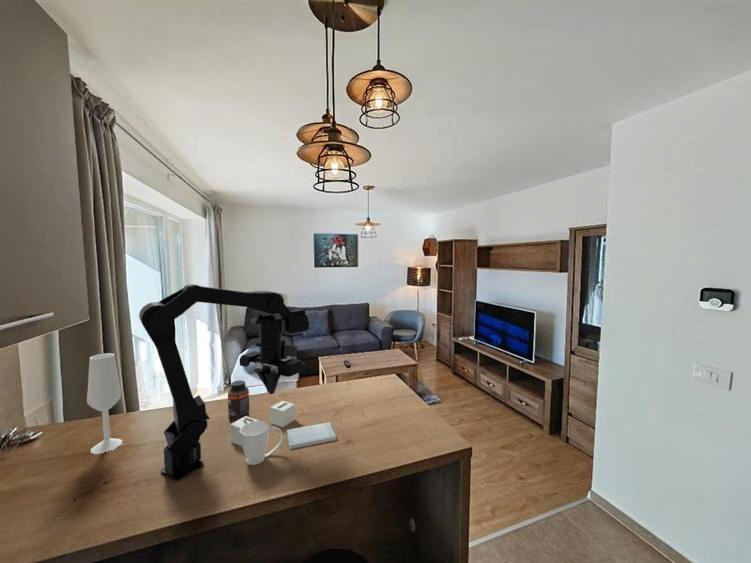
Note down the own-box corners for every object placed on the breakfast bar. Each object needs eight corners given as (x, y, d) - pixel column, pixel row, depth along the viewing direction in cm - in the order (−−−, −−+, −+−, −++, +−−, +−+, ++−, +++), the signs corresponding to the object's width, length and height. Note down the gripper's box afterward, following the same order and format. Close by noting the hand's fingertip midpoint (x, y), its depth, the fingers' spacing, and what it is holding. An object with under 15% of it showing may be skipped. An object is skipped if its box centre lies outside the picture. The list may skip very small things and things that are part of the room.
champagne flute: (83, 451, 80) (77, 358, 78) (112, 436, 86) (107, 351, 84) (101, 456, 78) (95, 361, 76) (130, 441, 84) (125, 353, 82)
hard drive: (288, 445, 81) (336, 436, 85) (286, 429, 88) (329, 421, 93) (289, 451, 81) (336, 441, 85) (286, 434, 89) (330, 426, 93)
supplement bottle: (253, 414, 99) (252, 379, 98) (243, 424, 93) (242, 386, 92) (235, 413, 100) (234, 378, 99) (224, 422, 94) (223, 386, 93)
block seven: (243, 447, 82) (243, 428, 81) (230, 442, 84) (230, 423, 84) (259, 437, 86) (258, 419, 86) (246, 433, 88) (245, 415, 88)
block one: (283, 427, 91) (282, 410, 91) (270, 423, 94) (270, 406, 93) (294, 419, 96) (294, 403, 95) (282, 416, 98) (282, 400, 98)
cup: (238, 455, 78) (238, 424, 78) (280, 444, 83) (279, 415, 82) (241, 472, 72) (240, 438, 72) (285, 459, 77) (285, 427, 76)
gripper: (316, 335, 88) (317, 389, 89) (268, 328, 97) (269, 377, 98) (288, 344, 78) (289, 405, 79) (237, 336, 87) (239, 390, 88)
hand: (271, 393), depth 86 cm, fingers closed
